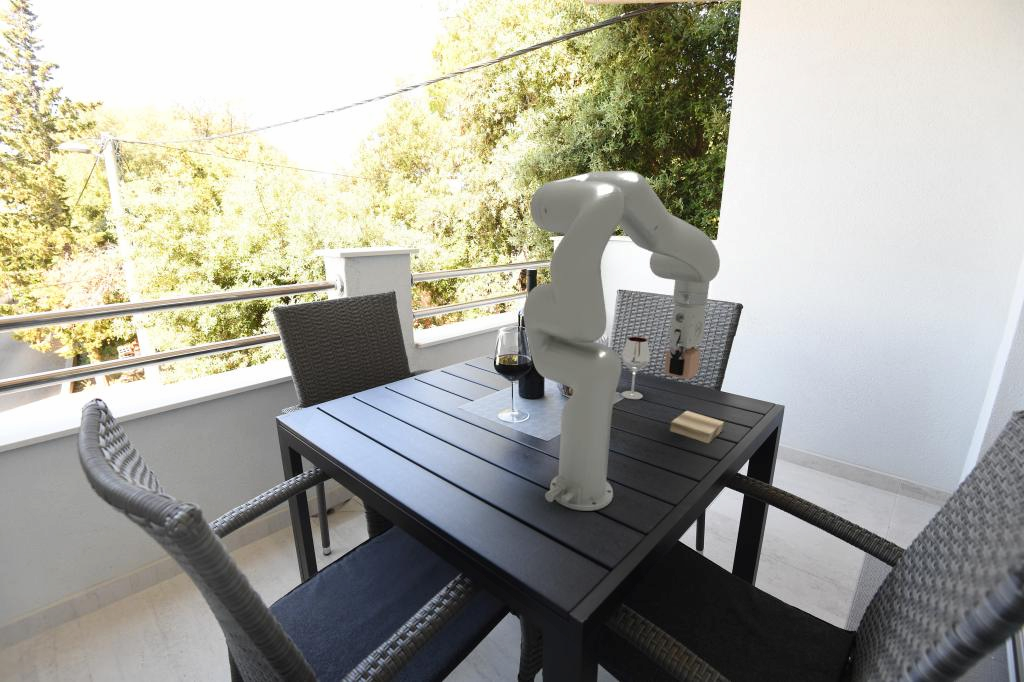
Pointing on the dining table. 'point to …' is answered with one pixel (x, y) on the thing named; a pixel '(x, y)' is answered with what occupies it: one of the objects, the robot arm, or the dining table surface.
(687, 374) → the painted cube
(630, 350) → the wineglass
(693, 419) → the oak block
